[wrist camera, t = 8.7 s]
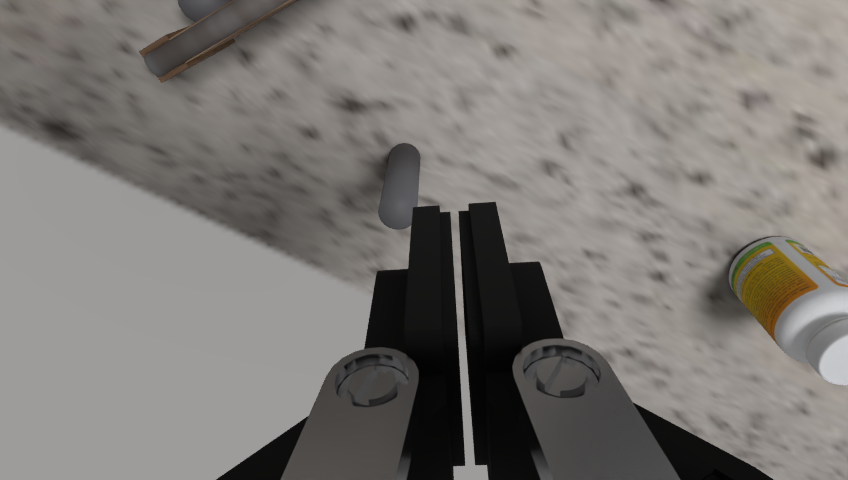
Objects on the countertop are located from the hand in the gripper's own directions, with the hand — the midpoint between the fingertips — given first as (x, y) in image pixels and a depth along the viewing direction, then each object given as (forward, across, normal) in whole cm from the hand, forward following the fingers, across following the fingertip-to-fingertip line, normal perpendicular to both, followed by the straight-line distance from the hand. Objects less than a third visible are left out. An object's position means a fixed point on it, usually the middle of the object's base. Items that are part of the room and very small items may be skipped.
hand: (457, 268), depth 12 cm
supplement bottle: (+24, -22, +17) cm, 37 cm away
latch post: (+24, +3, +7) cm, 25 cm away
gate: (+24, +9, -3) cm, 25 cm away
